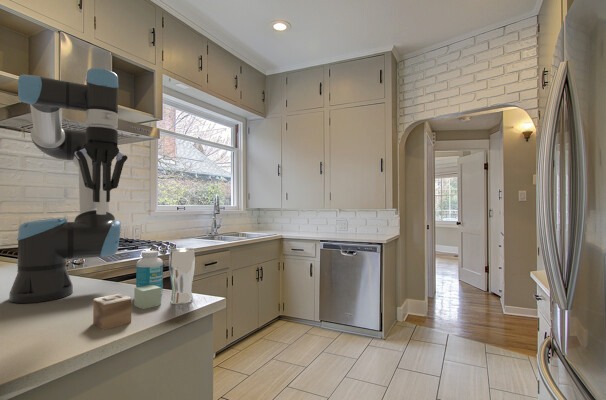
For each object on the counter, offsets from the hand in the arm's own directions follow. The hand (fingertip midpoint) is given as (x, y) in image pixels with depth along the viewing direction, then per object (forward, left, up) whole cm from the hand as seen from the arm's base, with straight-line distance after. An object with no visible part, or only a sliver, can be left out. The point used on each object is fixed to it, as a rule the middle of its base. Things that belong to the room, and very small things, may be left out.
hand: (101, 214), depth 93 cm
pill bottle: (0, +14, -26) cm, 29 cm away
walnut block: (+16, -3, -19) cm, 26 cm away
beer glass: (+13, +17, -26) cm, 33 cm away
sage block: (+9, +9, -25) cm, 28 cm away
